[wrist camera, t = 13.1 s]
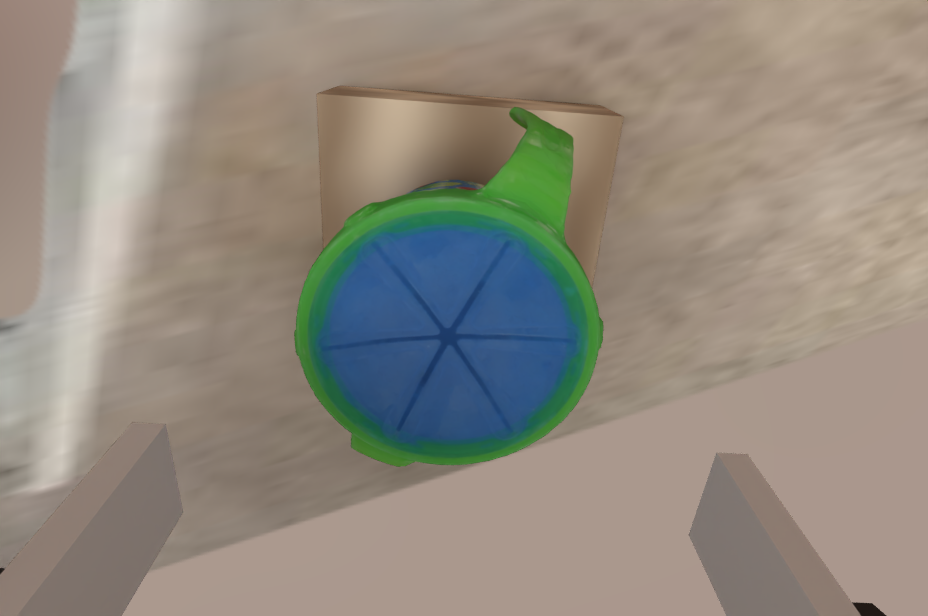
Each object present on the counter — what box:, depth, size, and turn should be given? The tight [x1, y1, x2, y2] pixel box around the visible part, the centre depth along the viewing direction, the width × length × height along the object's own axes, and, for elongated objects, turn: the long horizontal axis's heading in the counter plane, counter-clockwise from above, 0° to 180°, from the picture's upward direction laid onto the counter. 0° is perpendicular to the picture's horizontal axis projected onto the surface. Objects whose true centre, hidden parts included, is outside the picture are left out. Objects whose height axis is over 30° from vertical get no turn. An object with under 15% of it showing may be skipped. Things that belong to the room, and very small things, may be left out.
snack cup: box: [294, 107, 603, 467], centre depth 23 cm, size 16×10×10 cm
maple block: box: [317, 86, 624, 288], centre depth 30 cm, size 14×14×5 cm
